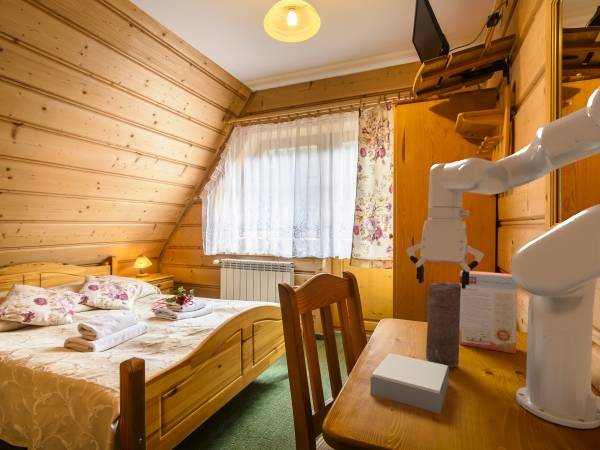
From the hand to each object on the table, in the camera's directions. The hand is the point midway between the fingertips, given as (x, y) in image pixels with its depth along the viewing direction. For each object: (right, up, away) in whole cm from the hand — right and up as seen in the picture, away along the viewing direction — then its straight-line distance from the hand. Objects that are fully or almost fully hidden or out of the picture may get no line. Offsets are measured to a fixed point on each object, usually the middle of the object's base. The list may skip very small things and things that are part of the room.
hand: (441, 285), depth 80 cm
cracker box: (+18, -20, +13) cm, 30 cm away
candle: (0, -20, 0) cm, 20 cm away
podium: (-12, -19, -12) cm, 26 cm away
